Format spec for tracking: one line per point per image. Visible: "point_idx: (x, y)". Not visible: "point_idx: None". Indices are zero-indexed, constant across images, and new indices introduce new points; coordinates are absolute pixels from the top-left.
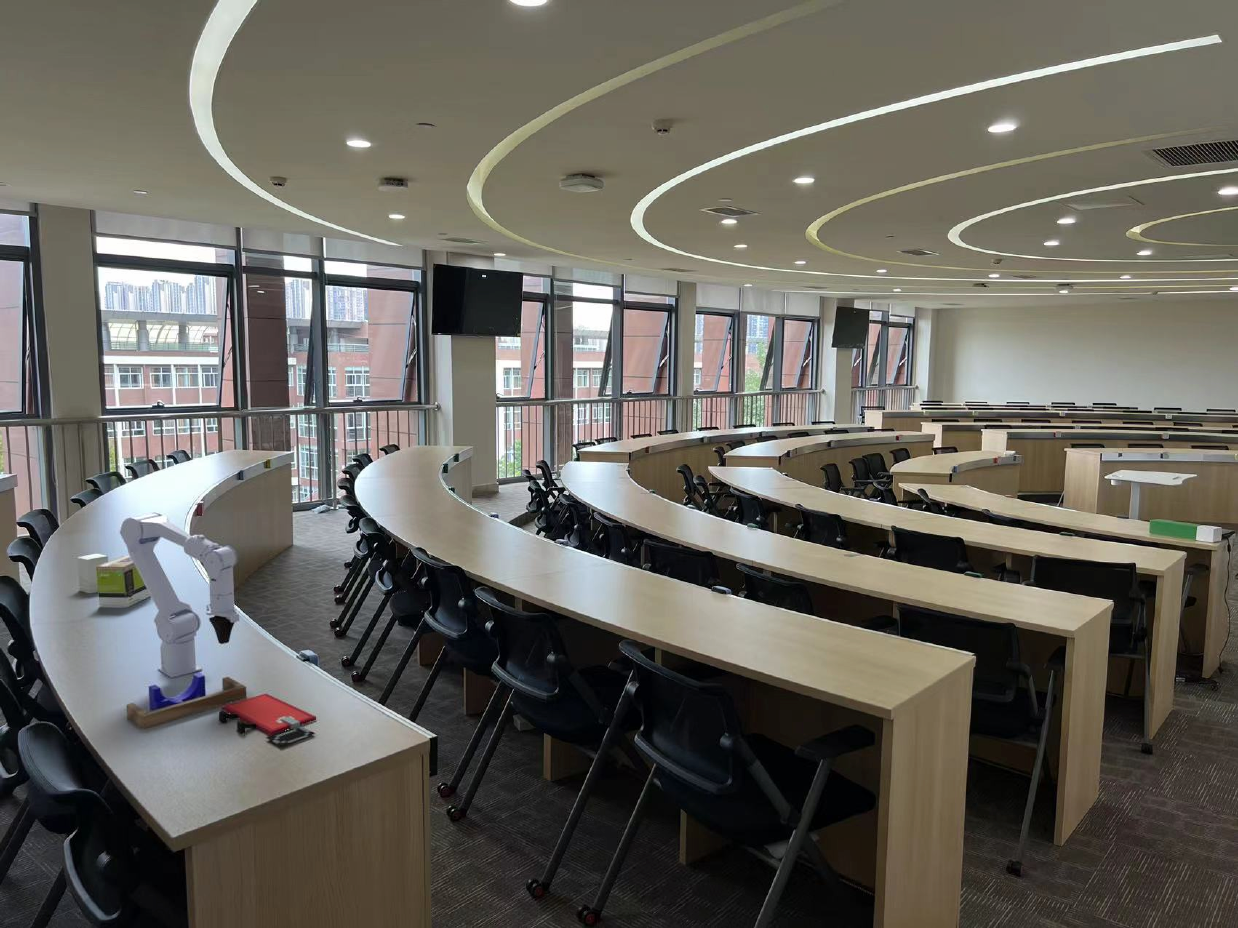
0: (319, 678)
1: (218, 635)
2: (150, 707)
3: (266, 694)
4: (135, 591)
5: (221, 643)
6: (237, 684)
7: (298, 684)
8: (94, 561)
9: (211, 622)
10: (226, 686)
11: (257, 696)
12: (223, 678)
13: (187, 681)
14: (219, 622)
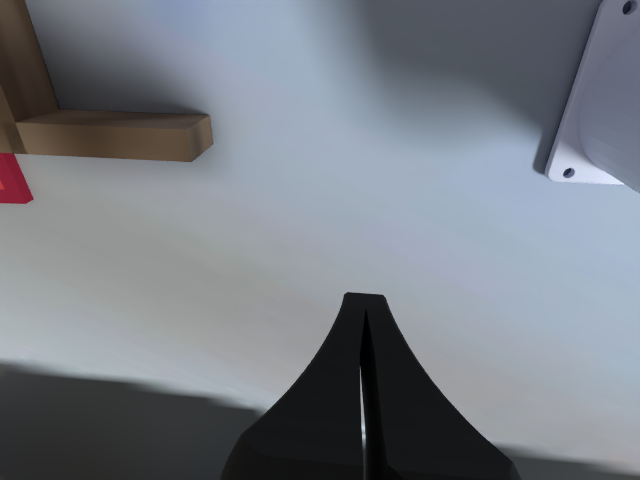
0: (110, 369)
1: (353, 333)
2: None
3: (13, 199)
4: None
5: (344, 296)
6: (48, 138)
7: (92, 314)
8: None
9: (456, 438)
10: (154, 119)
11: (2, 164)
12: (180, 133)
13: (465, 42)
14: (226, 468)
